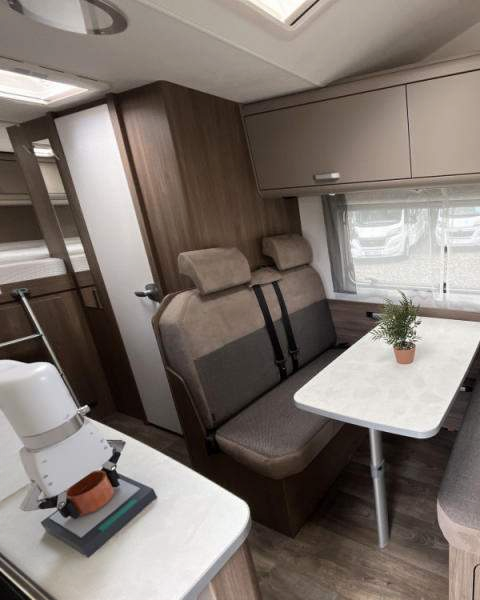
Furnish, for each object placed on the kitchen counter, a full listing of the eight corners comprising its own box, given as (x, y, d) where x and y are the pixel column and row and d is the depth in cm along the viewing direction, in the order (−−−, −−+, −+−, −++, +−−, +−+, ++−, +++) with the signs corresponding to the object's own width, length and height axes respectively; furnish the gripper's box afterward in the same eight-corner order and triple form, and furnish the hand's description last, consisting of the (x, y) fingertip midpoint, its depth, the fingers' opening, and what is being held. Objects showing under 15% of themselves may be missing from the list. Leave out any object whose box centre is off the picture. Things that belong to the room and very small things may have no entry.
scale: (46, 530, 60) (38, 520, 59) (116, 478, 71) (111, 469, 70) (88, 557, 56) (81, 547, 55) (157, 497, 66) (152, 487, 65)
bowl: (68, 510, 61) (56, 492, 59) (104, 484, 66) (94, 466, 64) (86, 520, 59) (74, 502, 57) (122, 492, 64) (112, 474, 62)
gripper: (98, 395, 64) (130, 459, 71) (-31, 462, 49) (24, 536, 56) (121, 402, 62) (152, 468, 68) (-8, 475, 47) (47, 551, 53)
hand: (94, 498), depth 62 cm, fingers closed on bowl, 6 cm apart
